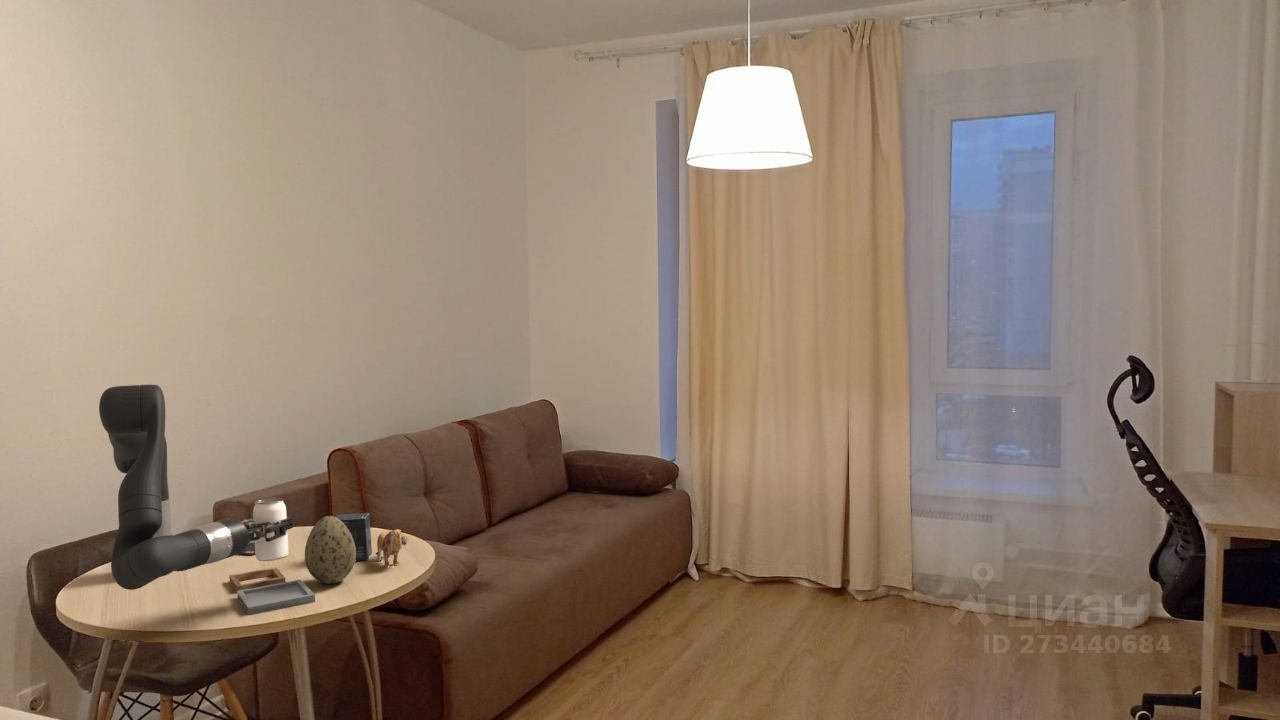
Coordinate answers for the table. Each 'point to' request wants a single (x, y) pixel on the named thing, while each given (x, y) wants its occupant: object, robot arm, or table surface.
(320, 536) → the decorative egg
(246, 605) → the tray
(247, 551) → the calculator
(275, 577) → the frame
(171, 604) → the table surface
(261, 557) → the can
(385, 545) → the lion figurine
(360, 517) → the box
